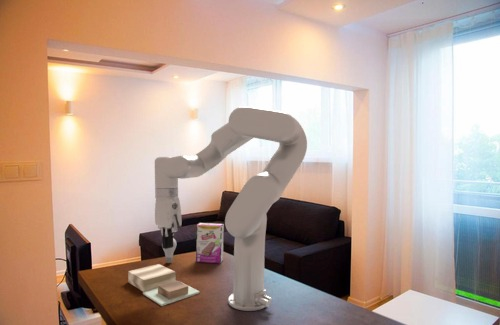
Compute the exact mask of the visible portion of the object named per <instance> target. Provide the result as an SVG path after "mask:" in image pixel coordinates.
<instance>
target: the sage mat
mask: <svg viewBox="0 0 500 325" xmlns="http://www.w3.org/2000/svg"><path fill="white" fill-rule="evenodd" d="M178 281H179V280H178ZM179 282H181V283H183V282H182V281H179ZM183 284H185V283H183ZM185 285H187V286H188V294H185V295H182V296H179V297H176V298H173V299H170V300H169V299H167V298H165V297H164V296H162V295H161V294H159V293H158V288H156V289H152V290H149V291H145V292H143V291H142V295H143V296H145V297H147V298H148V299H150V300H151V301H153V302H154V303H156V304H157V305H159V306H161V307H163V306H165V305H169V304H173V303H175V302H178V301H180V300H184V299H187V298H189V297H193V296H195V295H198V294H200V293H201V292H200V290H197V289H196V288H193V287H191V286H190V285H188V284H185Z"/></svg>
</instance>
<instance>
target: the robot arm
mask: <svg viewBox="0 0 500 325" xmlns="http://www.w3.org/2000/svg"><path fill="white" fill-rule="evenodd" d="M210 138H211V140H210V142H209V144H208V145H207V146H206V147H204V148H203V149H202V150H200V151H199V152H197V153H196V154H194V155H177V156H159V157H156V158H155V159H154V193H155V197H154V199H155V203H154V223H155V225H156V226H157V228H158V229H159V230H160V233H161V234H160V235H161V236H162V239H161V241H162V242H161V247H163V248H165V249H168V248H172V247H173V238H174V236H175V233H176V232H178V231H179V230H178V229H179V228H178V227H182V222H183V221H182V209H181V200H180V197H179V179H183V180H184V179H190V178H191V179H192V178H199V177H201V176H203V175H204V174H206V173H207V172H209V171H210V170H212V169H214V168H215V167H217V166H218V165H219V164H221V162H222V161H224V160H225V159H226V158H227V156H229V155H230V154H232V153H234V152H235V151H236V150H237V149H239V148H240V147H242V146H244V145H245V144H246V143H248V142H250V141H252V140H253V139H258V140H264V141H271V142H275V143H278V144H279V145H278V148H277V150H276V151H275V152H274V154H272V156H271V158H270V159H269V161H268V163H267V165H266V166H265V167H264V168H263V170H262V171H261V173H256V174H254V175H253V176H251V177H250V178H249V179H248V180H247V181H246V182H245V184H244V185H243V187H242V189H241V190H240V191H239V193H238V195H237V196H236V198H235V199H234V201H233V202H232V204H231V205H230V207H229V208H228V210H227V212H226V214H225V217H224V218H225V219H224V225H225V228H226V231H227V232H228V233H229V234H230V235H231V236H232V237H234V244H233V248H234V250H233V292H232V293H231V294H230V295H229V296H228V302H227V303H228V305H229V306H230V307H231V308H234V309H236V310H240V311H242V312H243V311H244V312H245V311H246V312H254V311H255V312H256V311H260V310H262V309H264V308H269V307H270V305H271V303H272V301H273V297H270V296H268V295H267V289H265V253H266V252H265V251H266V249H265V248H266V231H267V221H268V217H267V213H268V211H269V210H270V208H271V207H272V205H273V204H274V203H276V202H277V201H279V200H280V198H281V196H282V195H283V193H284V191H285V190H286V188H287V187H288V185H289V183H290V182H291V180H292V179H293V178H294V176H295V174H296V172H297V171H298V170H299V168H300V166H301V164H302V163H303V160H304V159H305V156H306V153H307V148H308V140H307V139H308V138H307V135H306V133H305V130H304V128H303V126H302V125H301V123H300V122H299V121H298V120H297V119H296V118H295V117H293V116H292V115H291V114H289V113H287V112H284V111H280V110H272V109H266V108H265V109H264V108H258V107H253V106H247V105H243V106H239V107H236V108H234V109H233V110H232V112H231V113H229V116H228V122H227V123H226V124H224V125H223V126H221V127H220V128H218V129H217V130H215V131H214V132H212V133H211V136H210ZM163 248H162V249H163Z"/></svg>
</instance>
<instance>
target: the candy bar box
mask: <svg viewBox="0 0 500 325" xmlns="http://www.w3.org/2000/svg"><path fill="white" fill-rule="evenodd" d="M224 225H225V223H210V222H209V223H208V222H198V223H197V224H196V241H195V242H196V244H195V245H196V246H195V247H196V249H195V252H196V253H195V263H201V264H202V263H203V264H206V263H207V264H222V262H223V261H224V233H225V232H224V228H225V227H224Z"/></svg>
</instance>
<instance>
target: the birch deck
mask: <svg viewBox="0 0 500 325" xmlns="http://www.w3.org/2000/svg"><path fill="white" fill-rule="evenodd" d="M127 275H128V276H127V278H128V279H127V281H128V283H129V284H130V285H132V286H133V287H135V288H137V289H138V290H140V291H141V292H142V293H143V292H145V291H149V290H152V289H156V288H158V285H162V284H165V283H169V282H172V281H176V276H177V273H176V271H175V270H172V269H170V268H168V267H166V266H164V265H162V264H160V263H157V264H153V265H148V266H145V267H140V268H135V269H132V270H128V272H127Z"/></svg>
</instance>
